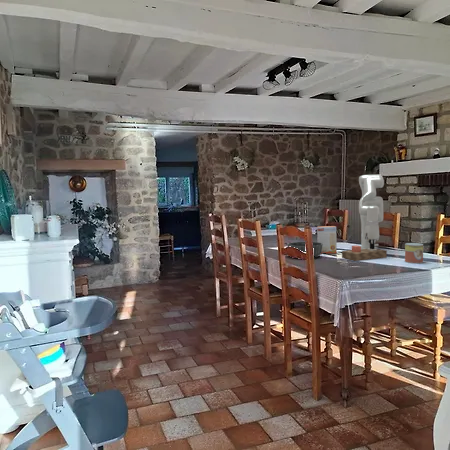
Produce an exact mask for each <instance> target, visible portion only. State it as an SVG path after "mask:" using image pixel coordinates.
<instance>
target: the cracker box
mask: <svg viewBox="0 0 450 450" xmlns="http://www.w3.org/2000/svg"><path fill="white" fill-rule="evenodd" d="M316 231H317V232H316V234H317V235H316V237H317V238H316V239H317V241H316V242H319V243H322V244H323V245H322V252H321V254H320V255H323V254H322V253H326V254H337V250H338V249H337V247H338V246H337V226H335V225H331V226H330V225H328V226H325V225H324V226H322V225H321V226H317V227H316Z"/></svg>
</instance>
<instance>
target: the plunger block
mask: <svg viewBox="0 0 450 450" xmlns="http://www.w3.org/2000/svg"><path fill="white" fill-rule="evenodd" d="M376 249H377V250H375V251H370V250H368V249H361V252H352V249H350V250H349V249H348V250H342V251H341V258H342V259H345V260H349V261H353V262H357V261H366V260H367V261H368V260H377V259H385V258H388V257H387V256H388V252H387V250H385V249H380V248H376Z"/></svg>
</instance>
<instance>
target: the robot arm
mask: <svg viewBox="0 0 450 450" xmlns="http://www.w3.org/2000/svg"><path fill="white" fill-rule="evenodd" d="M358 182H359V186H360V190H361V198H360V199H359V201H358V213H359V216H360V226H361V229H360V230H361V236H360V237H361V239H360V240H361V241H360V242H361V245H360V246H361V249H368V248H370V249H377V248H376V247H379V243H376V242H377V241H379V240H380V227H379V223H381V222H383V221H384V200H383V197H381V196H377V189H379V188H380V189H381V188H383V187H384V185H385V180H384V177H383V175H382V174H380V173H379V174H362V175H360V176H359V177H358Z"/></svg>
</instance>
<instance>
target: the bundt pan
mask: <svg viewBox="0 0 450 450" xmlns="http://www.w3.org/2000/svg"><path fill="white" fill-rule="evenodd" d="M305 242H306V241H293V242H287V243H286V245H287V248H288V247H289V246H291V247H295V248H298V249H299V250H301V251H303V252H306V251H305ZM312 242H313V248H314V256H315V257H314V258H317V257H319V256H320V255H322V254H321V252H322V245H323V244H322V243H319V242H317V241H312Z"/></svg>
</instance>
